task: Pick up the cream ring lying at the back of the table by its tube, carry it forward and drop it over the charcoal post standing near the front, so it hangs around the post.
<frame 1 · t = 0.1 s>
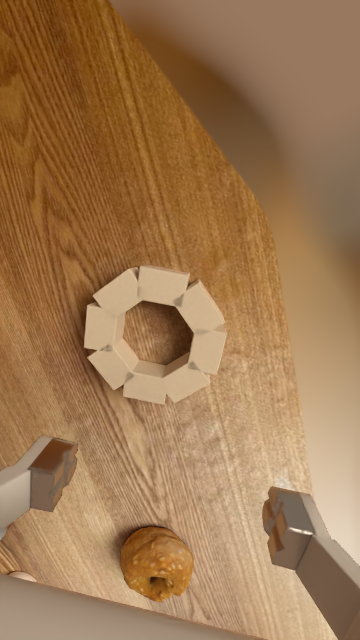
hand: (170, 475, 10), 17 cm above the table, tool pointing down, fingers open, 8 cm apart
ring: (158, 331, 26), on the table
bagel: (157, 546, 35), on the table
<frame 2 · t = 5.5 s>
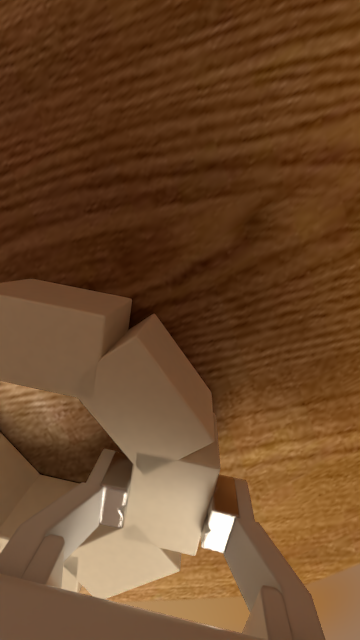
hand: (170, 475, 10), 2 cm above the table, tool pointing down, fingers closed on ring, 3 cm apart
ring: (71, 422, 12), on the table, touching gripper
when the fingers open (12 cm above the table, at t = 13.6 s): ring drops 9 cm, resting on post.
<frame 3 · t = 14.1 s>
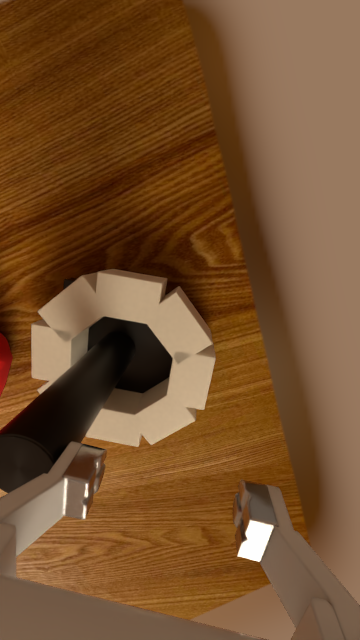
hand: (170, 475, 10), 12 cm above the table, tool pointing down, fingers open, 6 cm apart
post: (122, 343, 22), on the table
ring: (130, 352, 21), point 1 cm above the table, touching post
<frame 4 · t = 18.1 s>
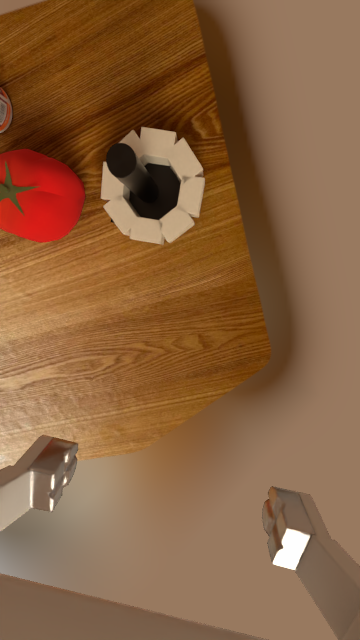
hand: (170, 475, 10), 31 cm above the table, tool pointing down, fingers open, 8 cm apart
post: (149, 193, 36), on the table
ring: (155, 193, 35), point 1 cm above the table, touching post
tomato: (58, 205, 38), on the table
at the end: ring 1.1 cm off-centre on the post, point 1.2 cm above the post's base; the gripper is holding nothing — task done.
